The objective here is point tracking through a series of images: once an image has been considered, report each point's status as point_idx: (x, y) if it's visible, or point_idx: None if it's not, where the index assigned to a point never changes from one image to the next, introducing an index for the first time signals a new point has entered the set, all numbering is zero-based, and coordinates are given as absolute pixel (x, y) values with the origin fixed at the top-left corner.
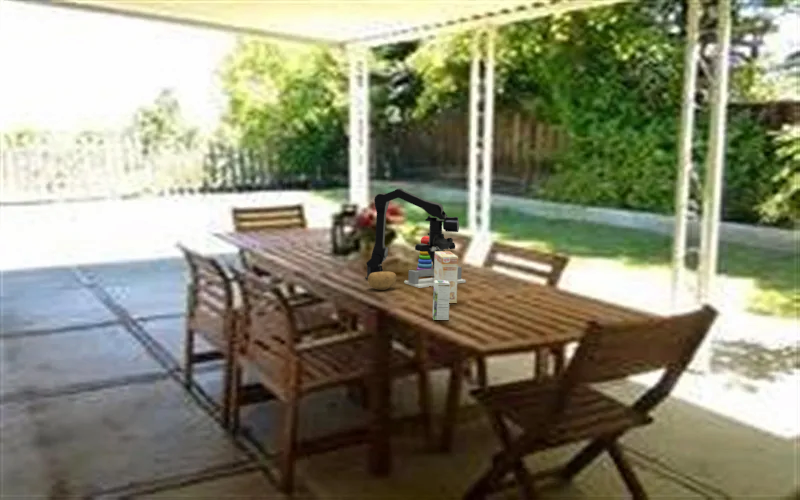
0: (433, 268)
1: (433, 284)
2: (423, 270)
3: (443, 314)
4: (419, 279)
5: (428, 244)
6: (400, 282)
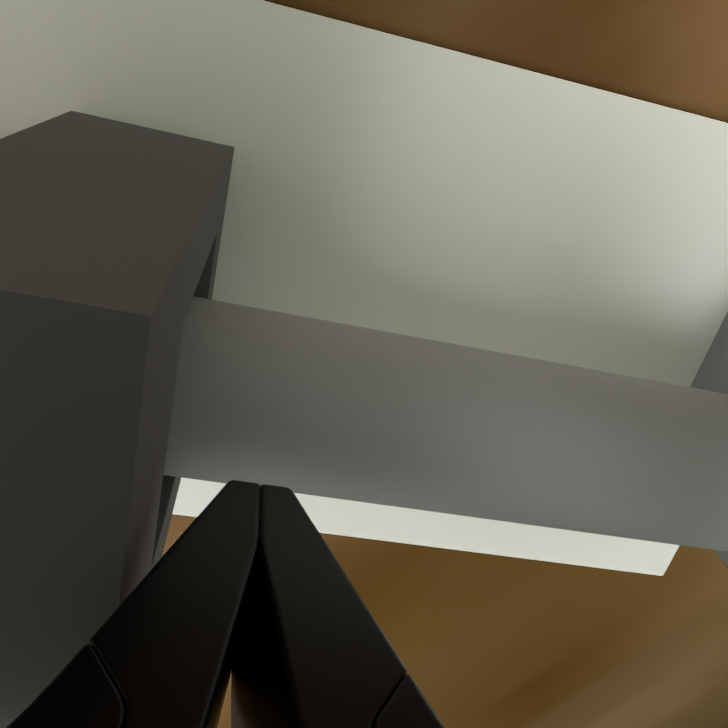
0: (159, 554)
1: (556, 79)
2: (661, 470)
3: None
4: (399, 527)
5: None
6: (634, 603)
